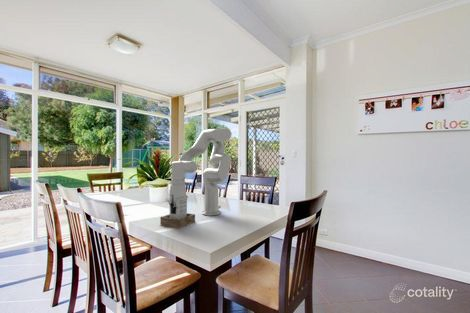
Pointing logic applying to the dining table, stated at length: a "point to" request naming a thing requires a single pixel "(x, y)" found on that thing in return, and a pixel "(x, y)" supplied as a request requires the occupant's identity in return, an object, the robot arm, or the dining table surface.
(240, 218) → the dining table surface
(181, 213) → the supplement box
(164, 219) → the wooden shadow box
